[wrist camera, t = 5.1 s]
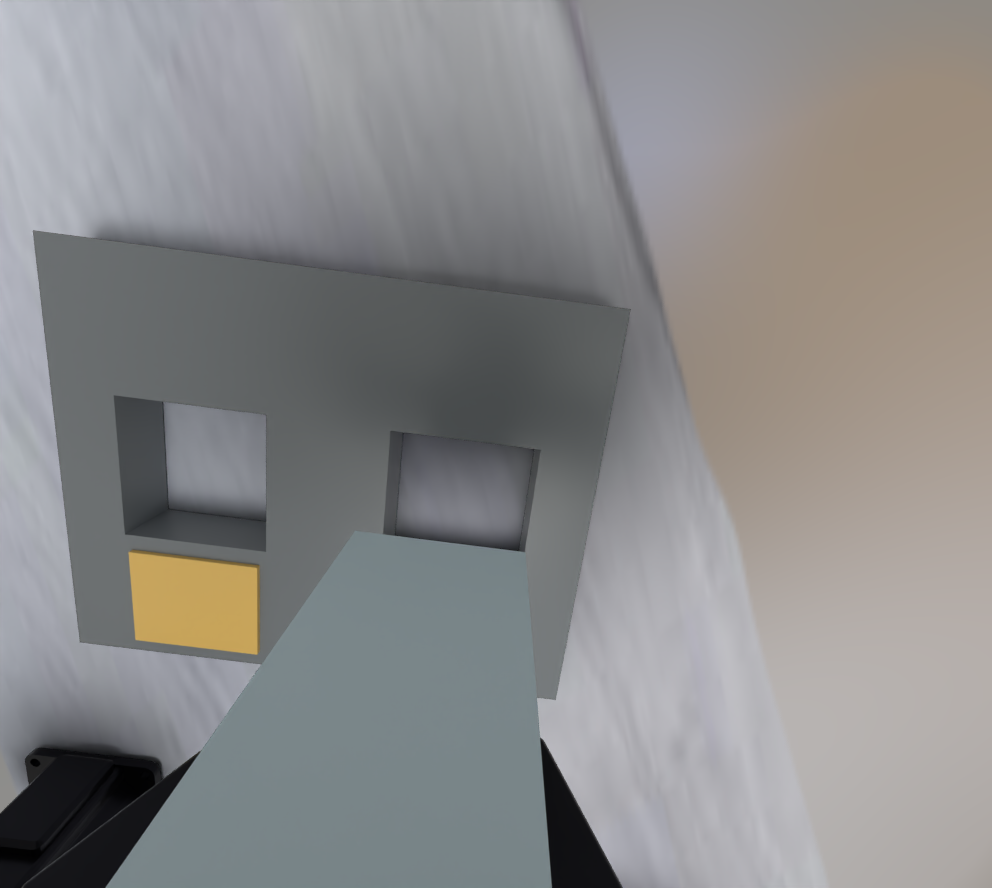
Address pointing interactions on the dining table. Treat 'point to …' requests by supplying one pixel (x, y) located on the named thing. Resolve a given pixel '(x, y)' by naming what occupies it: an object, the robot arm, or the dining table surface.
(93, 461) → the socket panel
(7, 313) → the dining table surface
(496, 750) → the plug
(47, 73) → the dining table surface
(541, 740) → the robot arm
